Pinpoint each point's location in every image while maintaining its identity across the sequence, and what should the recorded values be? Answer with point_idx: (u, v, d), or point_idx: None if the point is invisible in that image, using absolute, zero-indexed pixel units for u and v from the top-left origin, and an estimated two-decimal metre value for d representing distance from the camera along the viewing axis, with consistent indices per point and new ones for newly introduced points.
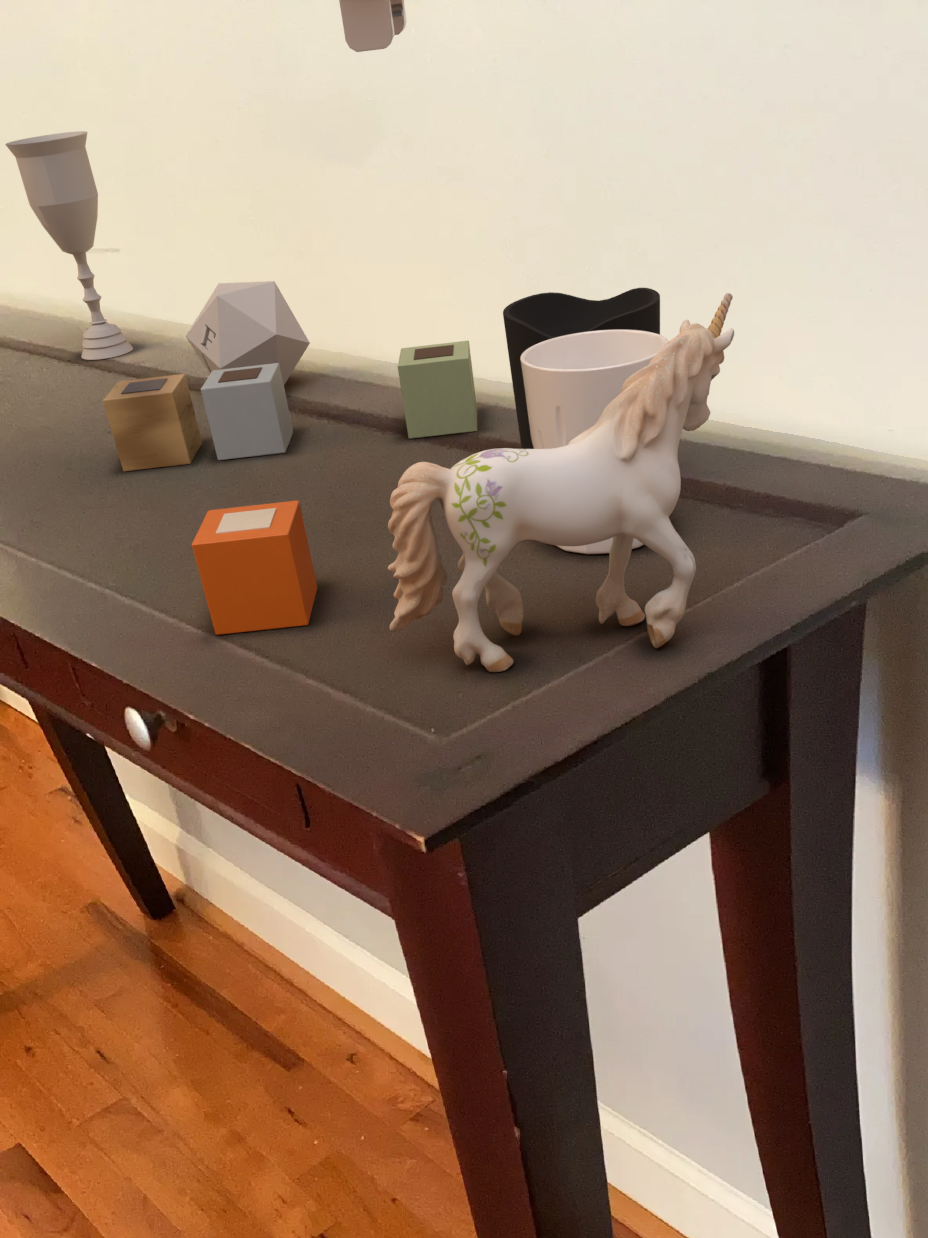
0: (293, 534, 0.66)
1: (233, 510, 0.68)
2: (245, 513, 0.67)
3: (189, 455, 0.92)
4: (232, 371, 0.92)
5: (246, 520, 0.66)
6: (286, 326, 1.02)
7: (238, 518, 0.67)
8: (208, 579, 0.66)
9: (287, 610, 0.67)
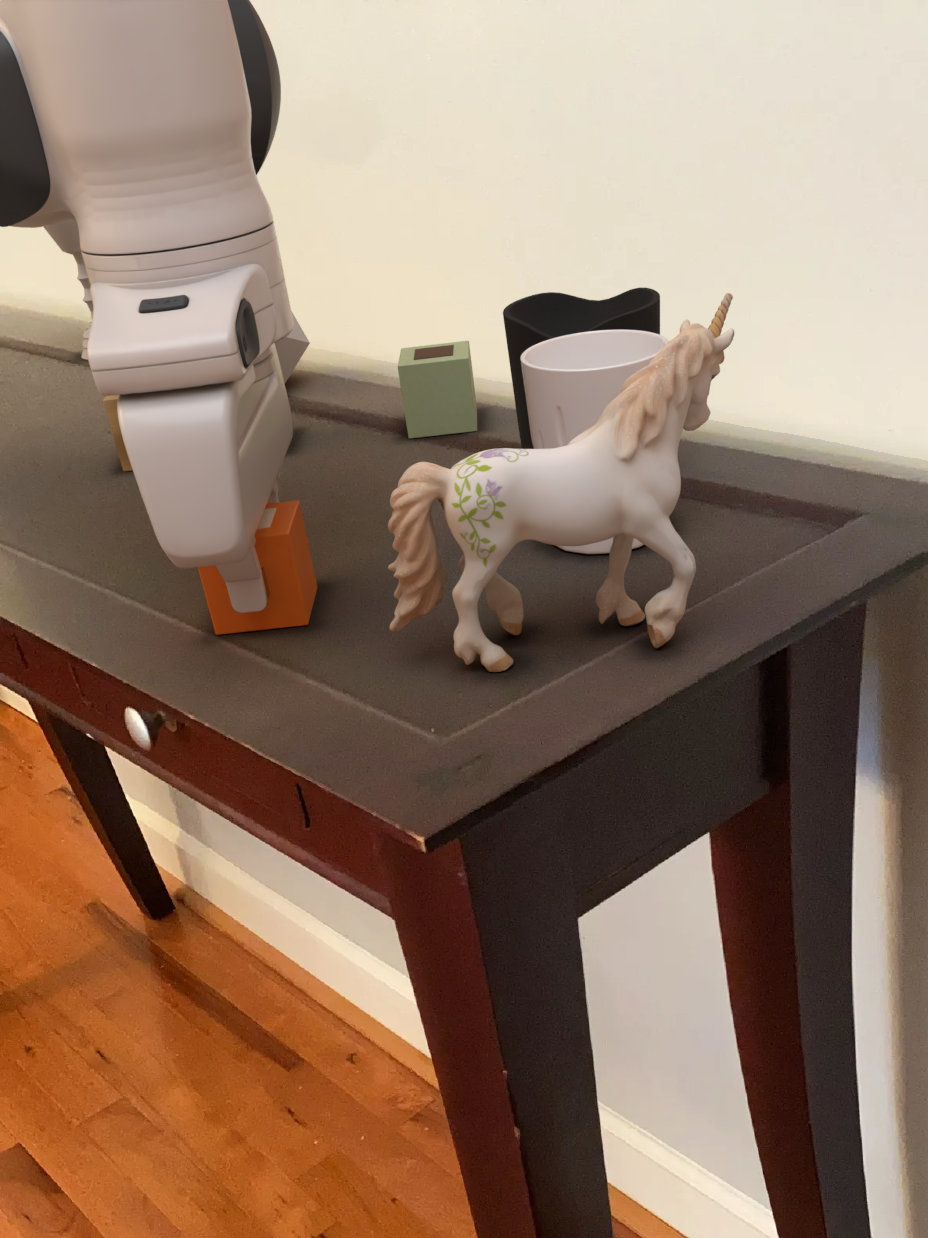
0: (293, 534, 0.66)
1: None
2: None
3: None
4: None
5: None
6: None
7: None
8: (208, 579, 0.66)
9: (287, 610, 0.67)
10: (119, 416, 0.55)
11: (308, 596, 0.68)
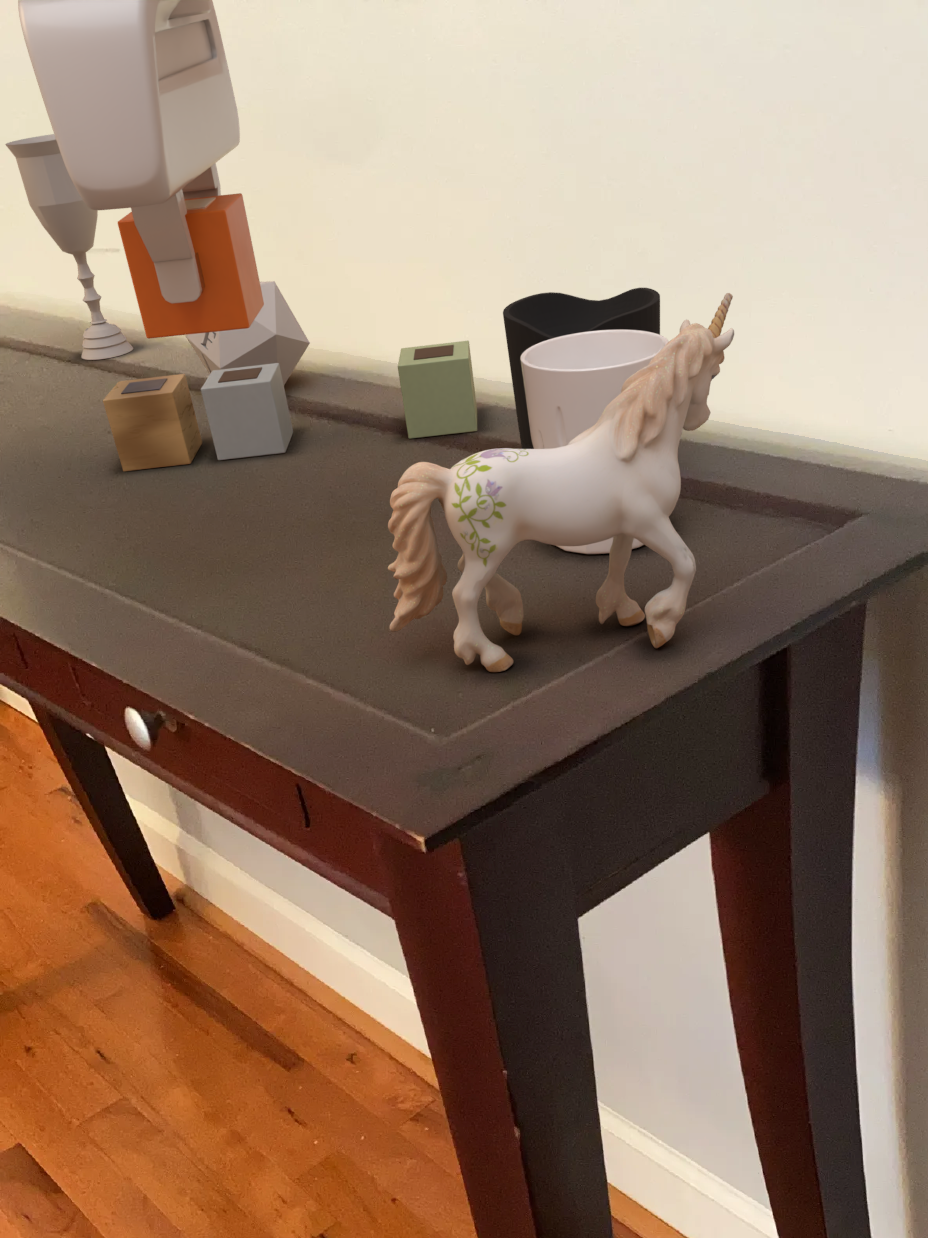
0: (232, 217, 0.59)
1: None
2: None
3: (189, 455, 0.92)
4: (232, 371, 0.92)
5: None
6: (286, 327, 1.02)
7: None
8: (137, 266, 0.59)
9: (225, 309, 0.60)
10: (19, 9, 0.48)
11: (250, 299, 0.61)
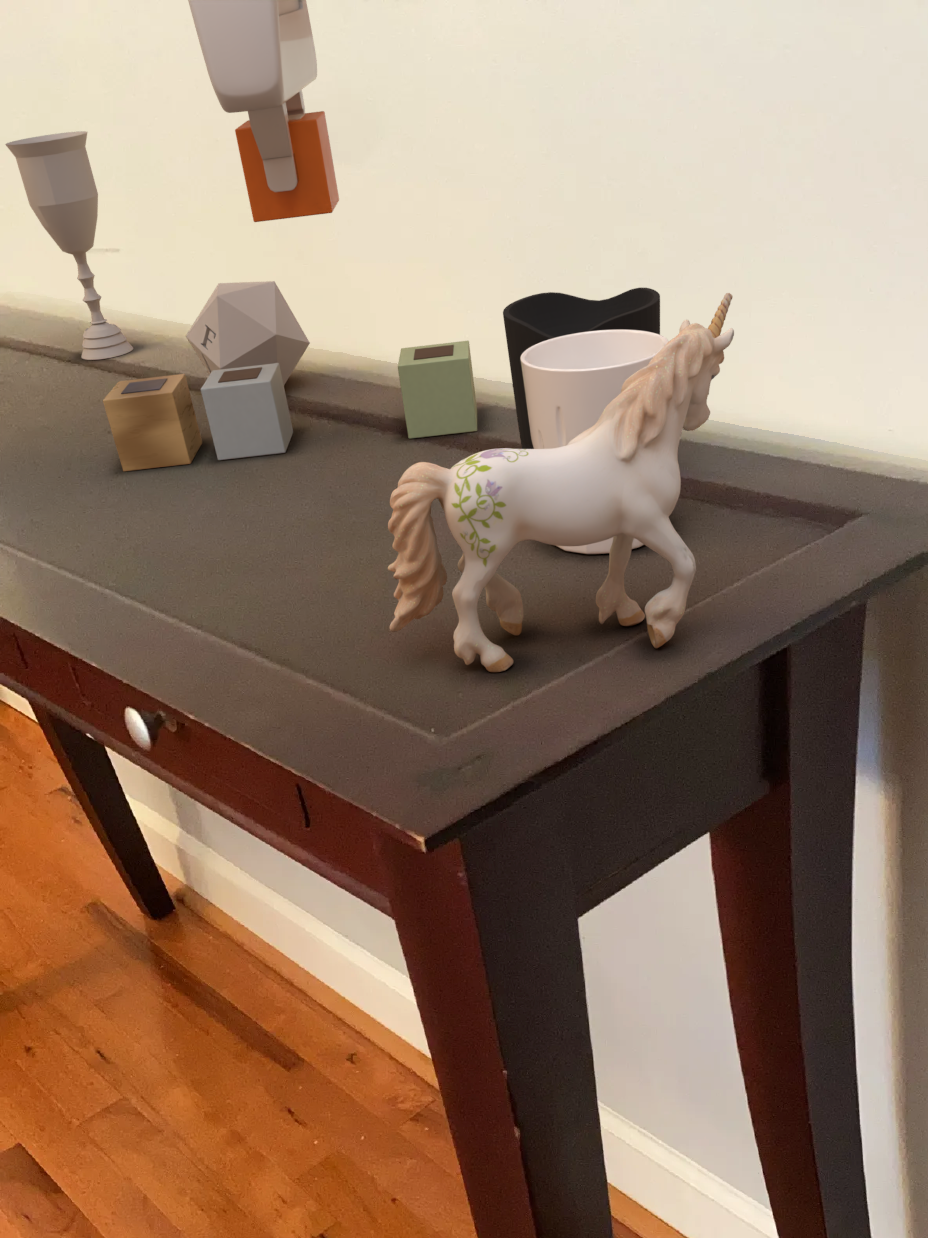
0: (320, 126, 0.78)
1: None
2: None
3: (189, 455, 0.92)
4: (232, 371, 0.92)
5: None
6: (286, 327, 1.02)
7: None
8: (248, 164, 0.78)
9: (314, 197, 0.79)
10: None
11: (332, 192, 0.80)
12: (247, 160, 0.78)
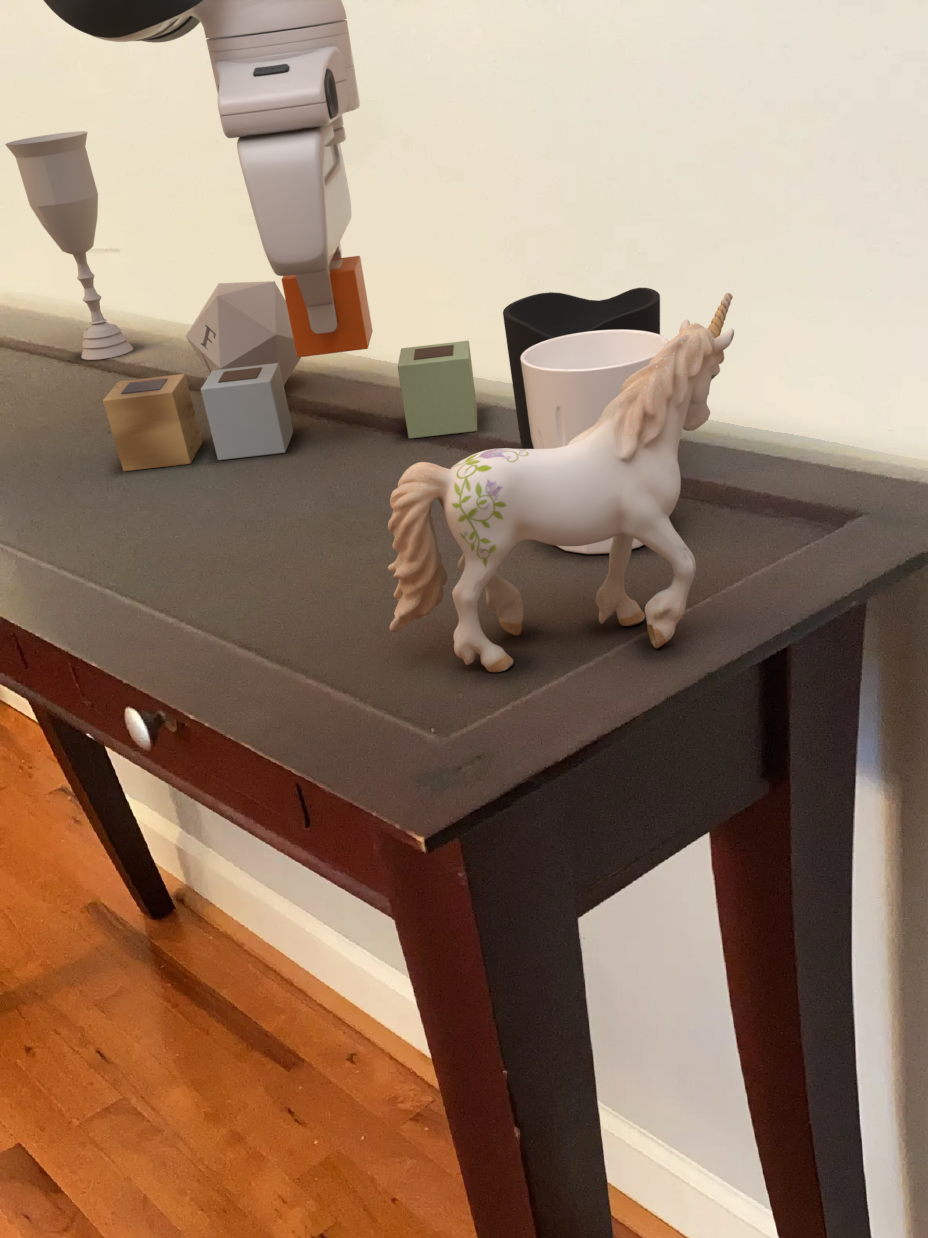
0: (357, 274, 0.86)
1: None
2: None
3: (189, 455, 0.92)
4: (232, 371, 0.92)
5: None
6: (286, 327, 1.02)
7: None
8: (293, 308, 0.86)
9: (352, 336, 0.87)
10: (239, 151, 0.75)
11: (367, 329, 0.89)
12: (292, 305, 0.86)
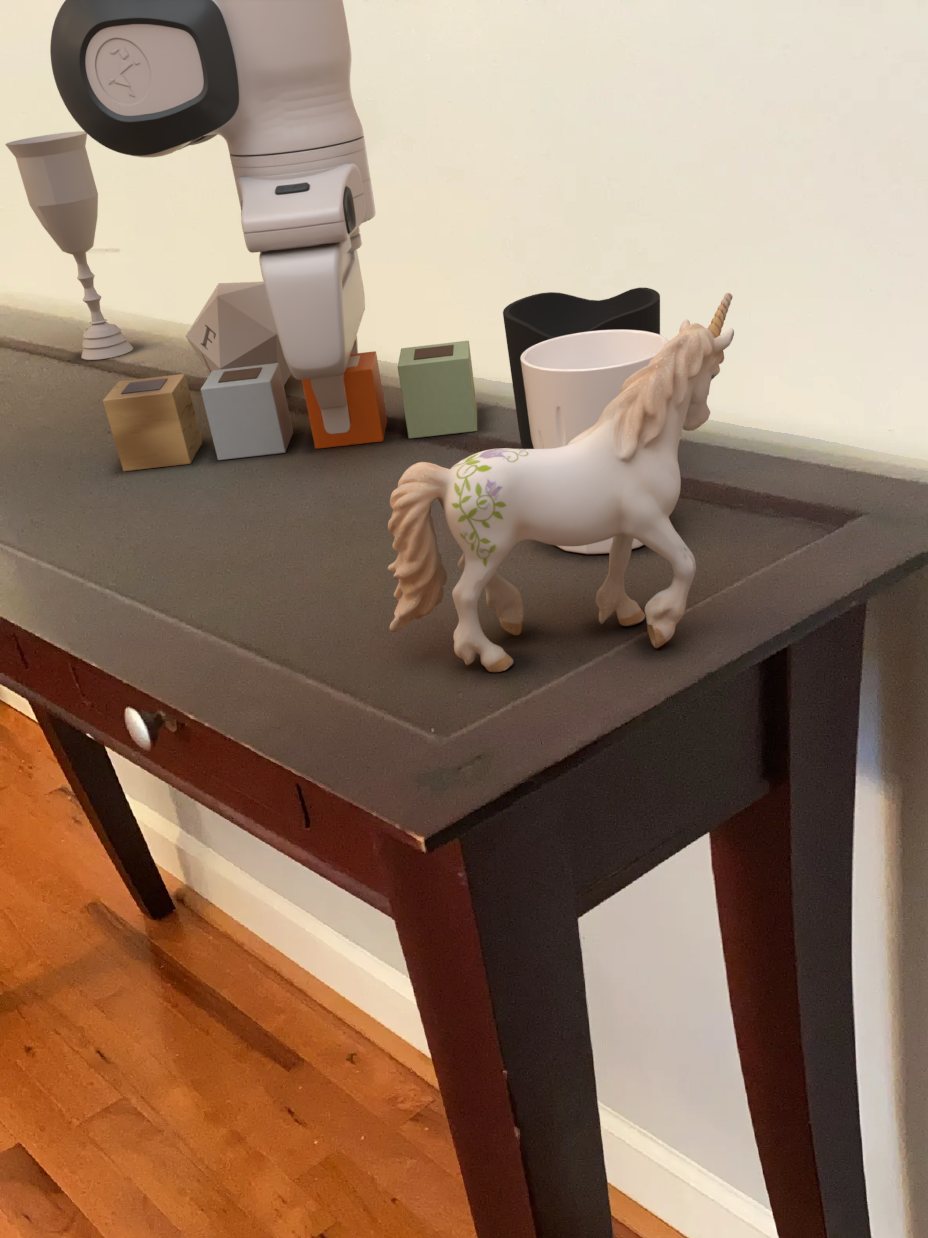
0: (374, 371, 0.90)
1: None
2: None
3: (189, 455, 0.92)
4: (232, 371, 0.92)
5: None
6: None
7: None
8: (312, 404, 0.90)
9: (368, 429, 0.91)
10: (261, 266, 0.79)
11: (382, 421, 0.93)
12: (311, 400, 0.90)
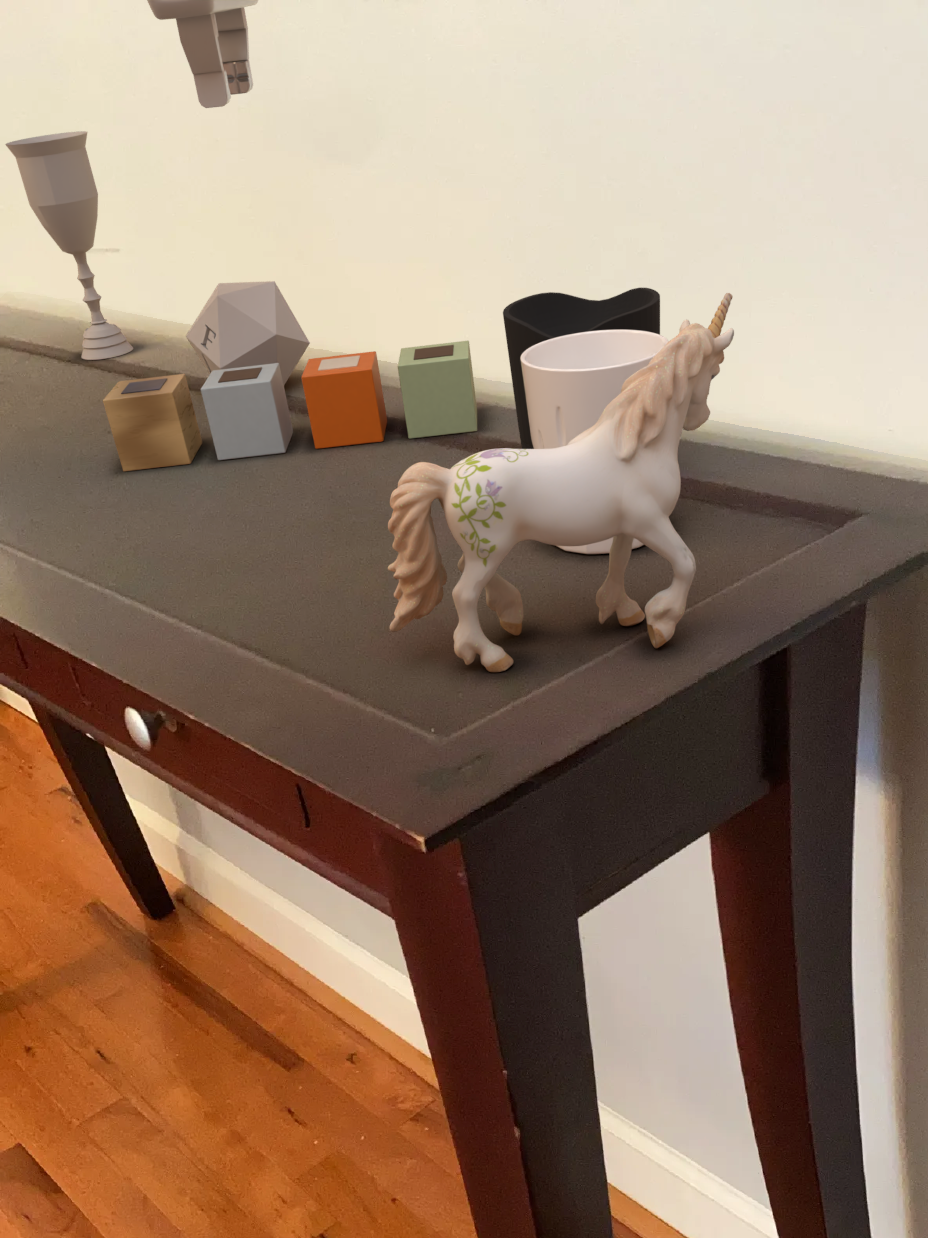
0: (374, 371, 0.90)
1: (328, 357, 0.92)
2: (337, 359, 0.92)
3: (189, 455, 0.92)
4: (232, 371, 0.92)
5: (338, 362, 0.91)
6: (286, 327, 1.02)
7: (333, 361, 0.91)
8: (312, 404, 0.90)
9: (368, 429, 0.91)
10: None
11: (382, 421, 0.93)
12: (311, 400, 0.90)
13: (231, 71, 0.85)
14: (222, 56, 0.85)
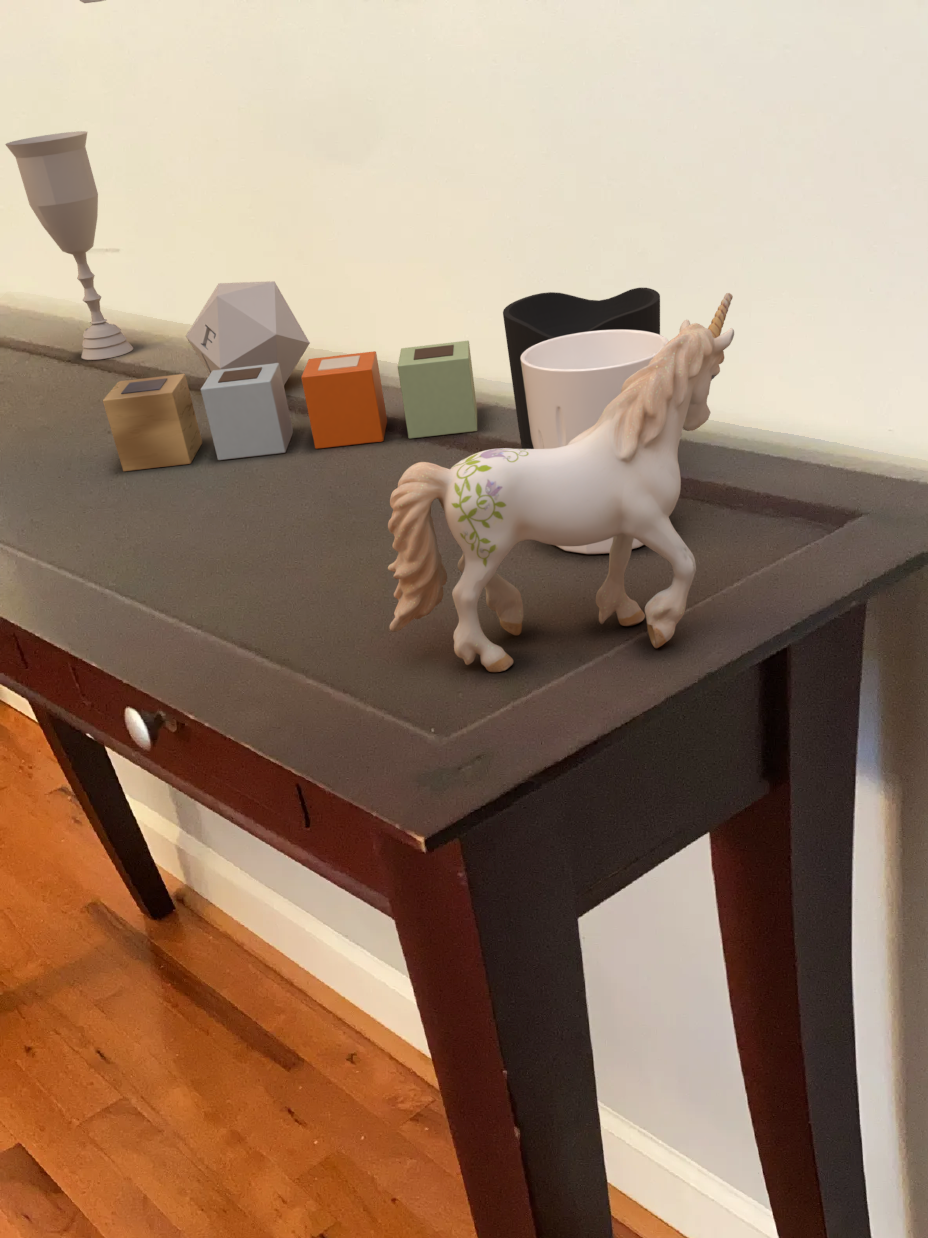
0: (374, 371, 0.90)
1: (328, 357, 0.92)
2: (337, 359, 0.92)
3: (189, 455, 0.92)
4: (232, 371, 0.92)
5: (338, 362, 0.91)
6: (286, 327, 1.02)
7: (333, 361, 0.91)
8: (312, 404, 0.90)
9: (368, 429, 0.91)
10: None
11: (382, 421, 0.93)
12: (311, 400, 0.90)
13: None
14: None
